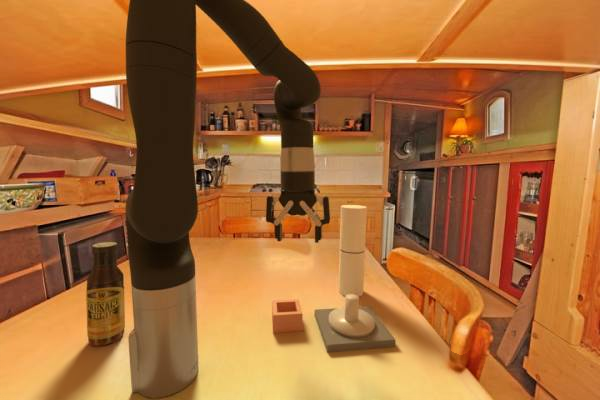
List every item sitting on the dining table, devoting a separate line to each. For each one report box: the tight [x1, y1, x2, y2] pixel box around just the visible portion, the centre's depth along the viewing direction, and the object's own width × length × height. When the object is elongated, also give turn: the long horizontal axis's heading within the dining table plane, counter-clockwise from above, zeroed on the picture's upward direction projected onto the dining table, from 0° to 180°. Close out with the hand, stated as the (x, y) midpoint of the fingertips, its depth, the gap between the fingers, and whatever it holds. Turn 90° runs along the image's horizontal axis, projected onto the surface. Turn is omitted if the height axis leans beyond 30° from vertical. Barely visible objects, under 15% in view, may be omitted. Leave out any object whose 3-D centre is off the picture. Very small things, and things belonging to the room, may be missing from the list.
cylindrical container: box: [338, 204, 368, 298], centre depth 75 cm, size 7×7×25 cm
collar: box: [271, 298, 304, 334], centre depth 60 cm, size 6×6×4 cm
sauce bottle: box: [85, 241, 126, 347], centre depth 53 cm, size 7×6×20 cm
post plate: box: [314, 294, 396, 353], centre depth 58 cm, size 14×13×8 cm
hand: (298, 241), depth 59 cm, fingers open, 8 cm apart
